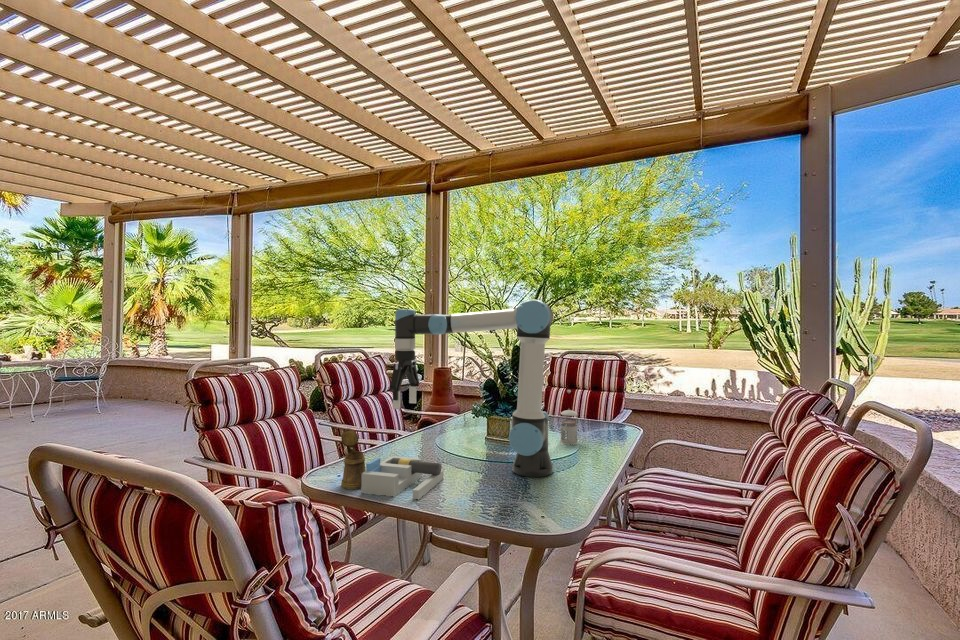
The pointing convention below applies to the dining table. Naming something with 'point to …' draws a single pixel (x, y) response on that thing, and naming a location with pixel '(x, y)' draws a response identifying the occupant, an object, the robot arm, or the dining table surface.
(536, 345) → the robot arm
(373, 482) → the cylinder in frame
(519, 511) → the dining table surface
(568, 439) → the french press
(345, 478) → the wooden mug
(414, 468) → the rod
